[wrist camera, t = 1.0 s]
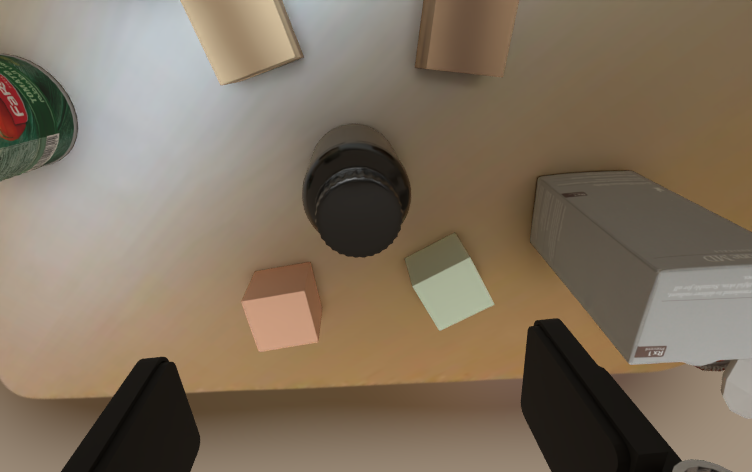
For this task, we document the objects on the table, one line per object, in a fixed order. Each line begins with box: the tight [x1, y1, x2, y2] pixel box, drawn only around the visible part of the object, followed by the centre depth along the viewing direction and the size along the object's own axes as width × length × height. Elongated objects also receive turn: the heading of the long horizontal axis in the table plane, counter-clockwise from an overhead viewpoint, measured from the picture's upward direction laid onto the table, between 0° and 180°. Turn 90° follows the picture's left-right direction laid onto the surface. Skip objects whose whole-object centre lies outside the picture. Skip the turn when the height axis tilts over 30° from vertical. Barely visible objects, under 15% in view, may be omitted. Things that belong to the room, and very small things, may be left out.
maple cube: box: [180, 0, 304, 85], centre depth 26 cm, size 5×5×5 cm
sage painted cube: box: [405, 233, 495, 331], centre depth 35 cm, size 5×5×5 cm
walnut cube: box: [415, 0, 519, 77], centre depth 27 cm, size 5×5×5 cm
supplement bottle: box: [302, 124, 411, 258], centre depth 27 cm, size 7×7×12 cm
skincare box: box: [530, 170, 752, 366], centre depth 28 cm, size 8×7×16 cm
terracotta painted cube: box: [241, 262, 322, 352], centre depth 35 cm, size 5×5×5 cm
